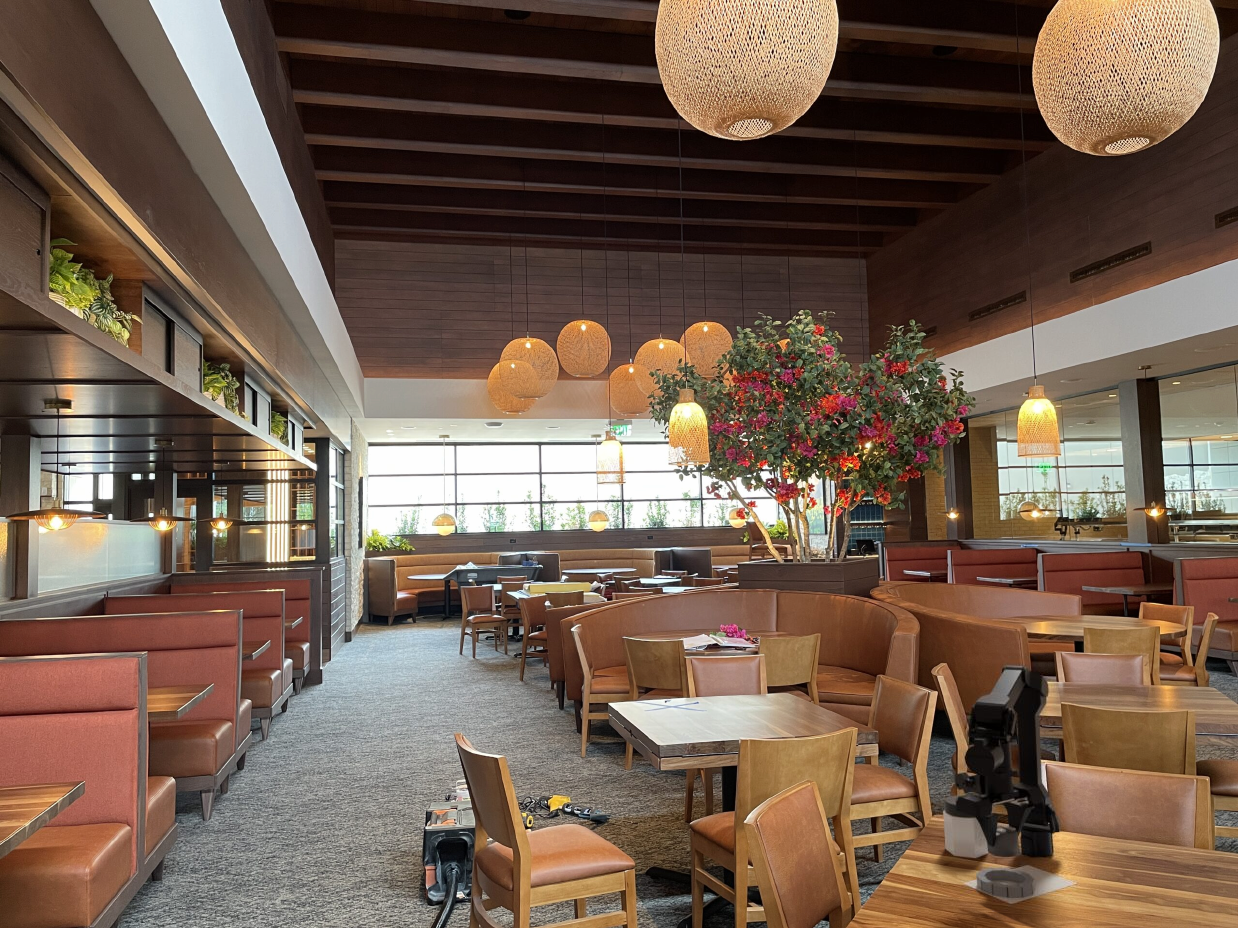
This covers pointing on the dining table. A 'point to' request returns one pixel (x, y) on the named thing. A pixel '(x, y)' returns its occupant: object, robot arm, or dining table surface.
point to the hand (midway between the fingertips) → (1002, 842)
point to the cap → (1005, 842)
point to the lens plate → (1017, 883)
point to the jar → (962, 832)
